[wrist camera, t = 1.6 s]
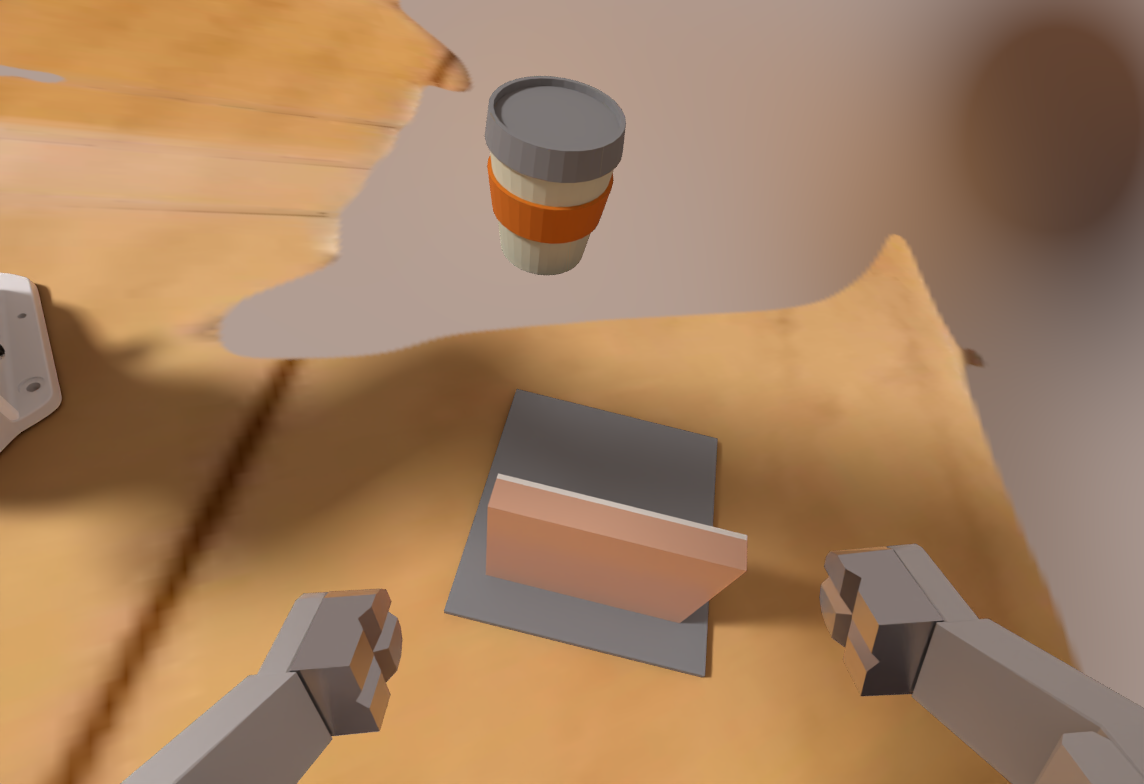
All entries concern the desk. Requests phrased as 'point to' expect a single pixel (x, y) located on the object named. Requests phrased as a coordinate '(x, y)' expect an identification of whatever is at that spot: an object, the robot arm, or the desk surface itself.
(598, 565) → the tile
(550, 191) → the reusable coffee cup
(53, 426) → the desk surface
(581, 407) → the mat
